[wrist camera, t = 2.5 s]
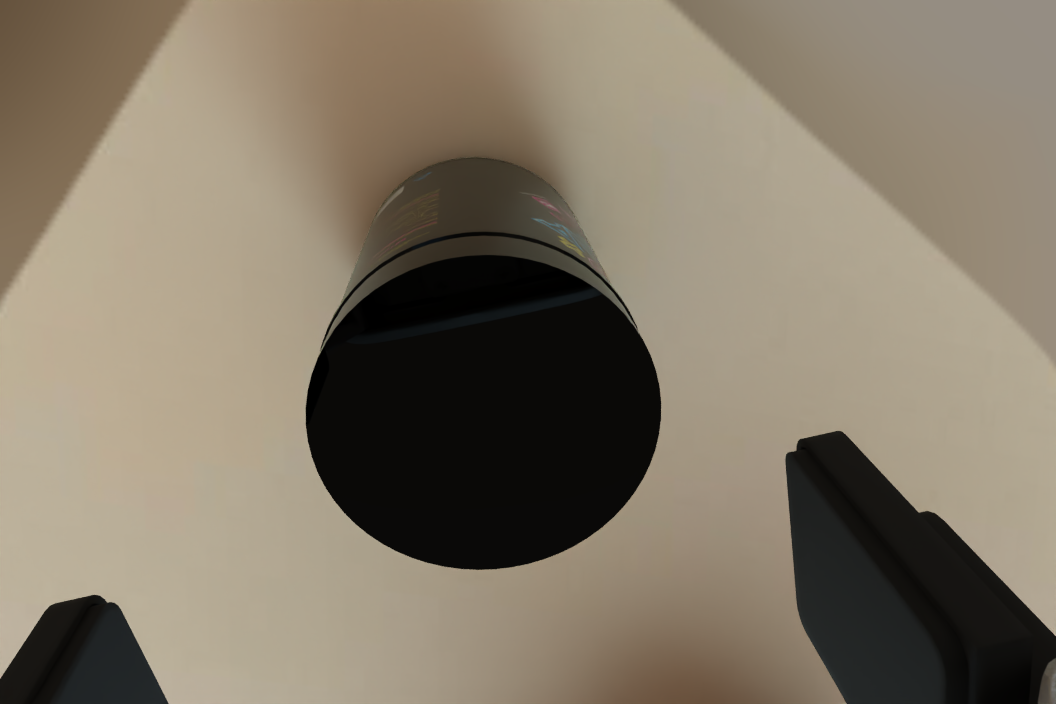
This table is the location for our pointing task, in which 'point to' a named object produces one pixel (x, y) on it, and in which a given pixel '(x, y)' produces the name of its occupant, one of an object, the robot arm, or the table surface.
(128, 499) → the table surface
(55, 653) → the robot arm
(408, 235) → the supplement container
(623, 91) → the table surface
